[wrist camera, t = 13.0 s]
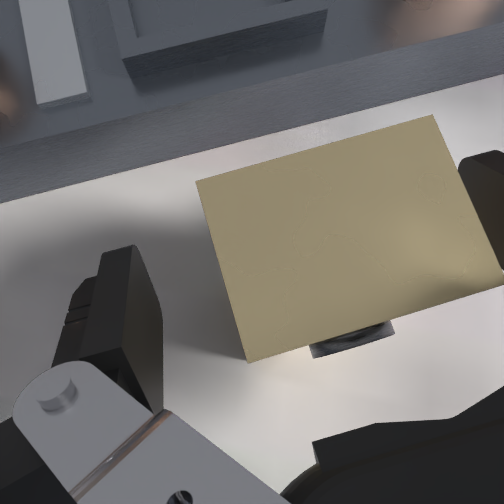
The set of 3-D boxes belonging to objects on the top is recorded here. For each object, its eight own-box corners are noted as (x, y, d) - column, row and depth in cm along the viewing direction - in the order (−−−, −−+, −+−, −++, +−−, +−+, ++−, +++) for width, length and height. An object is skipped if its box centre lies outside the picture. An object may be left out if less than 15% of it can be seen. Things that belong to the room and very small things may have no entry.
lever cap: (341, 243, 17) (432, 114, 8) (373, 333, 16) (515, 301, 7) (228, 276, 16) (195, 181, 8) (255, 370, 16) (253, 382, 7)
